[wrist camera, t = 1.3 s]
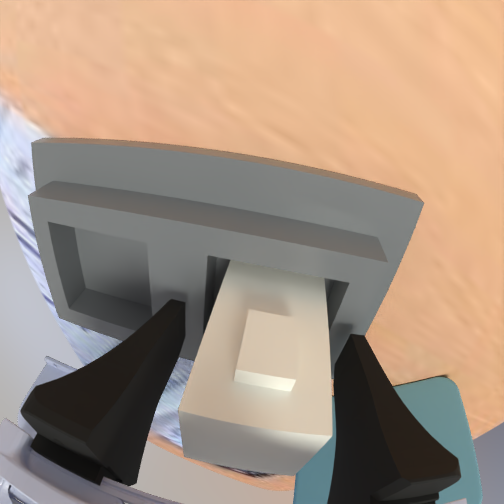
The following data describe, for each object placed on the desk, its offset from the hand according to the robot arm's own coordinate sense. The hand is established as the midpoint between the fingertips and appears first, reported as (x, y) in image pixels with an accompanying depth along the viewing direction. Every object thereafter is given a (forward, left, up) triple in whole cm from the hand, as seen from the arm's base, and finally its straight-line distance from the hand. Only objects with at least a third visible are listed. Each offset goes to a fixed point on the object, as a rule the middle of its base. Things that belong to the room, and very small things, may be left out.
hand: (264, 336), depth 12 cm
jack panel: (-4, 0, -4) cm, 6 cm away
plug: (0, -1, -3) cm, 3 cm away
